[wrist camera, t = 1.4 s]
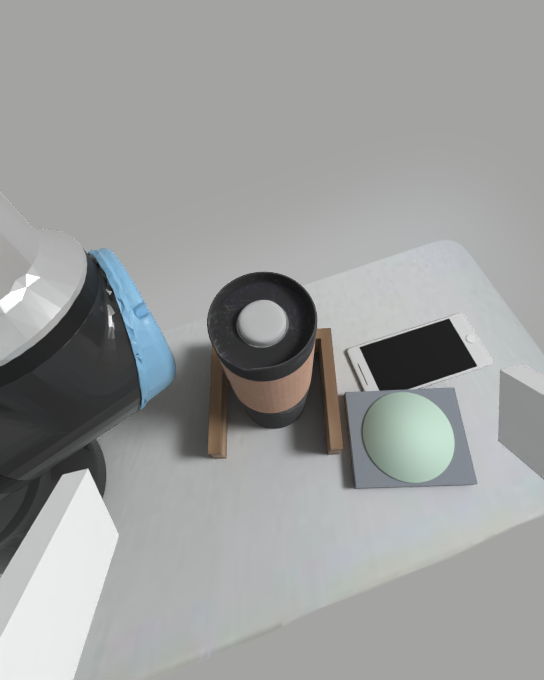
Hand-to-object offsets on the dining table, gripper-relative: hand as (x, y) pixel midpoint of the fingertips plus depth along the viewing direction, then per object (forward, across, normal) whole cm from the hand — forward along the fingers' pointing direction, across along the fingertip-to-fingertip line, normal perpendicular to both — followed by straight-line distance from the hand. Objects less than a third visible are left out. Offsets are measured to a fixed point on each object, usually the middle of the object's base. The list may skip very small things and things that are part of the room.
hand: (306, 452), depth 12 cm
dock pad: (+23, +13, -19) cm, 32 cm away
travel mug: (+28, 0, -14) cm, 32 cm away
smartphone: (+29, +18, -14) cm, 37 cm away
